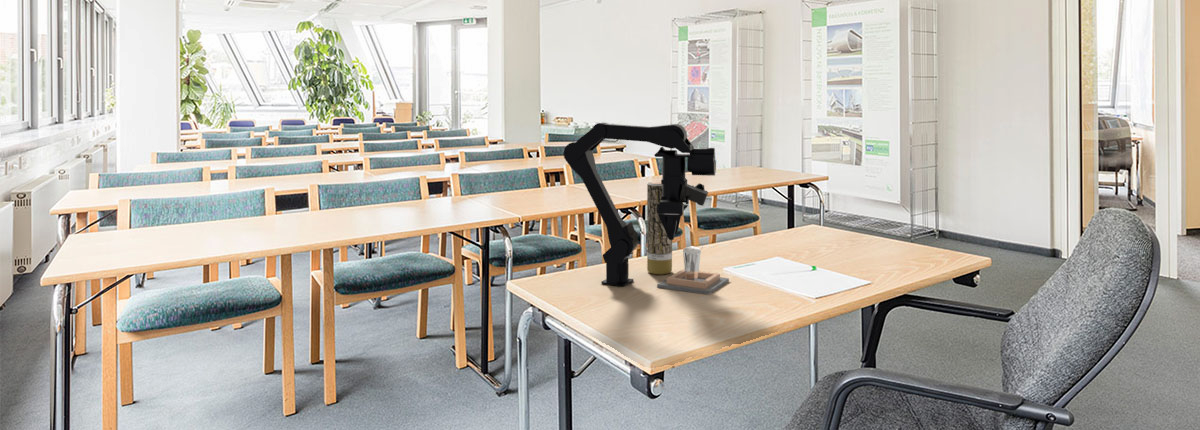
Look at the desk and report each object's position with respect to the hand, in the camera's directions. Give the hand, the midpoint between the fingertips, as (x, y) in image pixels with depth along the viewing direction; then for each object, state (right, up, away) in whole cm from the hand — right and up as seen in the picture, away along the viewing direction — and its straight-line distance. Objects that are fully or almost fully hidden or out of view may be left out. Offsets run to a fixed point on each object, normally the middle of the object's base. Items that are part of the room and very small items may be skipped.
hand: (673, 236), depth 179 cm
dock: (+6, -13, +4) cm, 14 cm away
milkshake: (+5, -12, +4) cm, 14 cm away
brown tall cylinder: (-2, -11, +16) cm, 19 cm away
